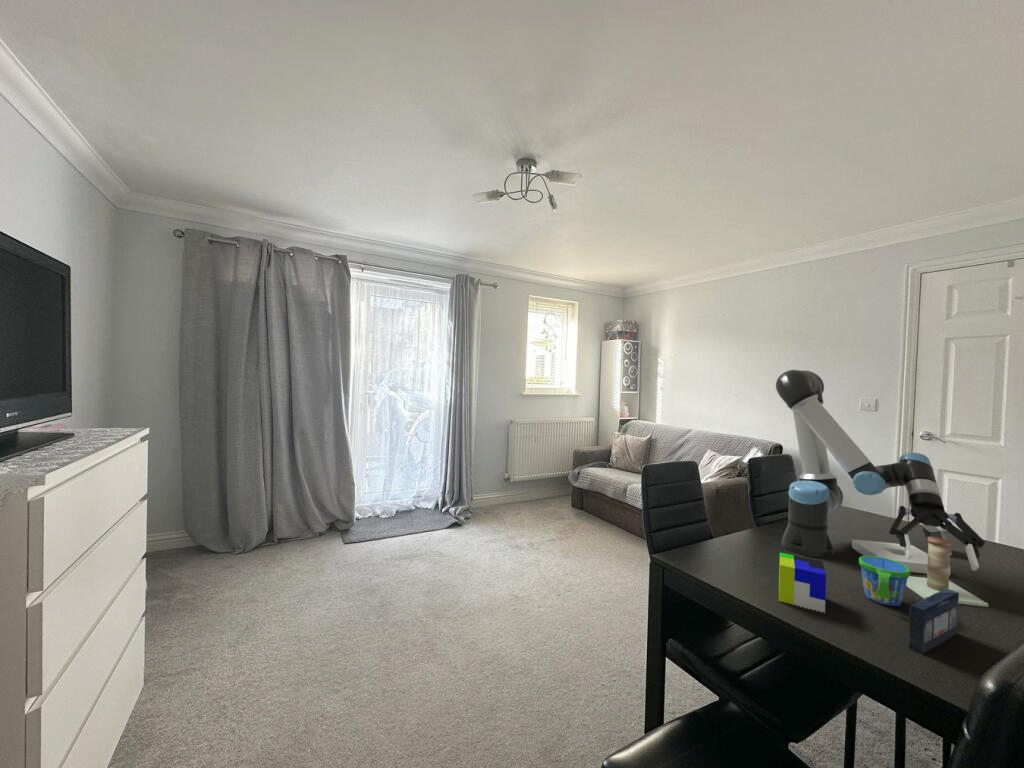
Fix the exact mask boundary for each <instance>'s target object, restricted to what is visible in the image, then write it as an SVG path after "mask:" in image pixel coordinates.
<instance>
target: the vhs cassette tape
mask: <svg viewBox="0 0 1024 768" xmlns="http://www.w3.org/2000/svg"><path fill="white" fill-rule="evenodd" d="M958 601H959V593H957V592H954V591H952V590H948V589H944V590H942V591H940V592H938V593H935V594H933V595H931V596H930V597H927V598H925V599H924V598H922V599H921V600H920V601H917V602H915V603H913V604H911V605H910V607H909V629H908V646H907V647H908V649H909V650H911V651H913V652H916V653H919V654H921V655H924V654H926V653H927V652H928V651H930V650H932V649H934V648H936V647H938V646H939V645H941V644H943V643H945V642H947V641H948V640H949V639H951V638H952V636H953V637H955V636H956V635H957V634H958V619H959V617H958V616H959V603H958Z"/></svg>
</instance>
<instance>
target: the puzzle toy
mask: <svg viewBox="0 0 1024 768" xmlns="http://www.w3.org/2000/svg"><path fill="white" fill-rule="evenodd" d="M778 563H779V565H778V566H779V569H778V573H779V574H778V602H779V601H781V602H780V603H782V602H785V603H784V604H786V603H789V604H788V605H790V604H793V605H792V606H794V605H797V606H796V607H798V606H800V607H799V608H802V607H804V608H803V609H806V608H807V610H810V609H812V610H811V611H814V610H816V611H815V612H818V611H820V612H819V613H822V612H824V613H823V614H826V591H827V589H826V588H827V573H826V570H825V565H824V562H823V560H819V559H814V558H809V557H808V558H807V557H804V556H799V555H794V554H790V553H789V554H788V553H785V552H784V553H783V552H779V562H778Z"/></svg>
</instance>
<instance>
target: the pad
mask: <svg viewBox="0 0 1024 768" xmlns="http://www.w3.org/2000/svg"><path fill="white" fill-rule="evenodd" d="M907 587H908V589H910V590H911V591H913V592H914V593H915V594H917V595H918V596H920V597H921V598H922V599H925V598H927V597H930V596H931V595H933V594H935V593H938V592H940V591H937V590H934V589H931V588H929V587H928V586H927V577H921V576H911V575H910V576H909V577H908V578H907V583H906V588H907ZM949 590H952V591H954V592H957V593H959V601H958V605H959V604H962V605H968V606H975V607H976V606H978V607H984V608H989V603H987V602H985V601H984V600H982V599H981V598H979V597H978V596H976V595H975V594H972V593H971V592H969V591H967V590H966V589H963V587H961V586H959V585H958V584H955V583H954V582H953V581H952V580H949Z"/></svg>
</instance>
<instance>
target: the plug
mask: <svg viewBox="0 0 1024 768" xmlns="http://www.w3.org/2000/svg"><path fill="white" fill-rule="evenodd" d="M926 542H928V543H927V554H928V566H927V574H926V575H927V576H926V578H927V586H928V587H929V588H931V589H934V590H937V591H942V590H944V589H948V590H949V581H950V576H949V566H950V561H951V560H950V549H951V546H952V541H951V540H949V539H948V538H947V539H943V538H939V537H927V540H926Z"/></svg>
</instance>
